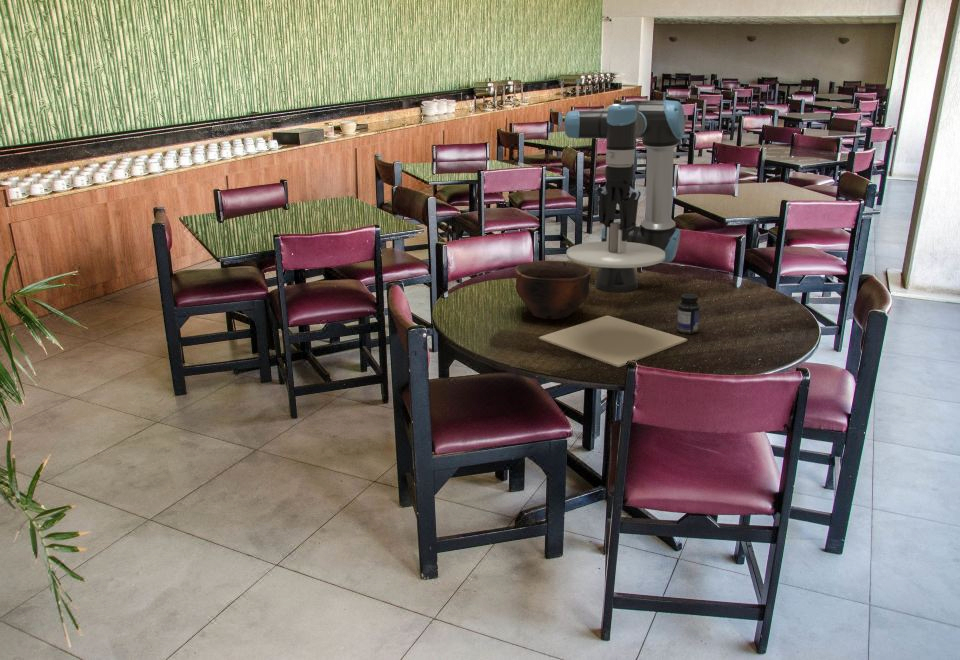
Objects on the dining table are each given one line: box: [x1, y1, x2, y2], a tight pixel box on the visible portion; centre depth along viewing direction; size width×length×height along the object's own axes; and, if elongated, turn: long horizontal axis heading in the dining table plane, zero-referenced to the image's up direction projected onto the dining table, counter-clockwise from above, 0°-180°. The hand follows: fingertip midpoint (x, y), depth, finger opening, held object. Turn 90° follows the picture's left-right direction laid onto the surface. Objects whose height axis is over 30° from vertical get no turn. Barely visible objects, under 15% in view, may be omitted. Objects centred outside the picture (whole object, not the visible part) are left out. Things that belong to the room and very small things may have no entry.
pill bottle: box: [676, 293, 700, 335], centre depth 225 cm, size 6×6×11 cm
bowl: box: [514, 260, 593, 320], centre depth 242 cm, size 25×25×15 cm
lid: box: [566, 221, 665, 269], centre depth 211 cm, size 27×27×9 cm
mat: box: [538, 315, 688, 368], centre depth 221 cm, size 30×30×1 cm
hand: (616, 250), depth 212 cm, fingers closed on lid, 3 cm apart
